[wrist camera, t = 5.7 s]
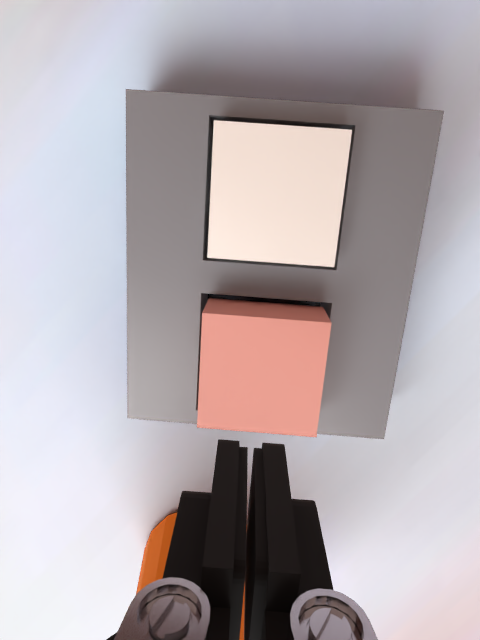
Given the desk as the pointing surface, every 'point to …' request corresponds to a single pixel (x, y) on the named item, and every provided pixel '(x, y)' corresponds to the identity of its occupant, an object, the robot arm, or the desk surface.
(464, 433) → the desk surface
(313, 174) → the white key
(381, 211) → the key panel
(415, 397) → the desk surface
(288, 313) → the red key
